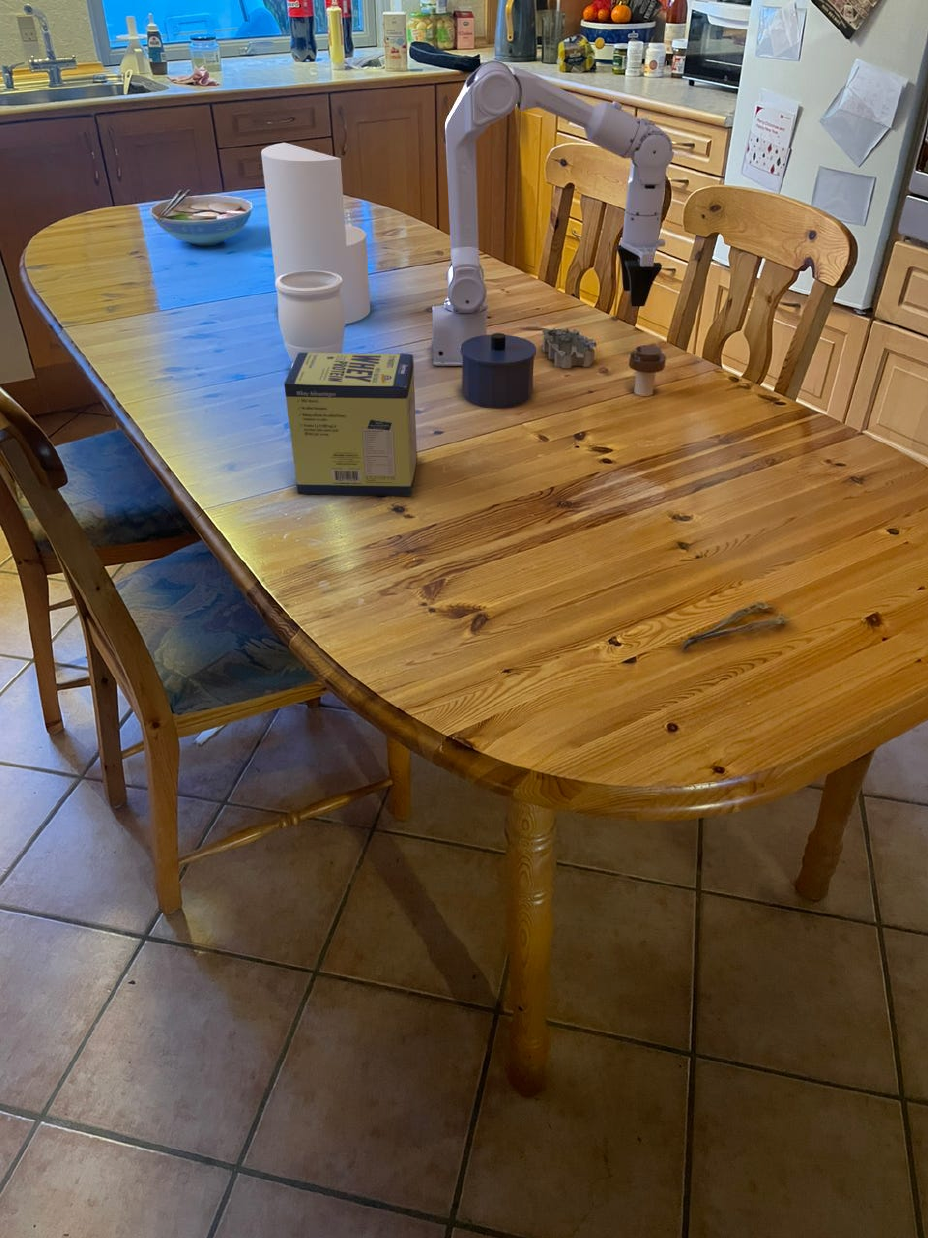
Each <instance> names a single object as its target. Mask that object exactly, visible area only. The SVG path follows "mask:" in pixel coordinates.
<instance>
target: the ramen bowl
mask: <svg viewBox="0 0 928 1238" xmlns="http://www.w3.org/2000/svg"><path fill="white" fill-rule="evenodd" d="M190 193H191V191H190V189H187V190H185V191H184V192H183V190H182V189H179V190H178V191H177V192H176V194H175V195H174V197H173V198H172V199H168V200H165V201H164V200H163V201H161V202H159V203H156V204H155V205H153V206H151V207H150V210H149V214H150V215H151V217H152V218H153V220H154V221H155V222H156V224H157V225H158V226H159V227H160V228H161V229H162V230H163V231H164V232H166V233H167V234H168V235H170V236H171V237H173V238H174V239H177V240H180V241H184V242H188V243H189V244H191V245H194V246H204V247H205V246H207V247H208V246H214V245H218V244H221V243H222V242H224V241H225V240H228V239H229V238H231V237H232V238H233V236H235V235H237V234H238V233H239V232H241V230H242V229H244V227H245V226H246V224H247V223H248V221H249V219H250V217H251V213H252V210H253V202H250V201H249V200H247V199H245V198H240V197H235V196H228V195H216V194H215V195H213V194H212V195H209V194H208V195H192V196H188V195H189V194H190Z"/></svg>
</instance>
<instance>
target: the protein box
mask: <svg viewBox="0 0 928 1238" xmlns="http://www.w3.org/2000/svg"><path fill="white" fill-rule="evenodd" d="M292 364H293V363H292ZM414 367H415V366H414V355H413V354H411V353H350V352H349V353H348V352H347V353H345V352H344V353H300V352H299V353H298V355H297V357H296V359H295V362H294V364H293V366H292V368H291V367H290V370H289V373H288V375H287V377H286V379H285V381H284V383H283V385H284V392H285V400H286V401H285V402H286V409H287V410H286V411H287V417H288V427H289V433H290V442H291V451H292V458H293V459H292V460H293V465H294V466H293V467H294V477H295V484H296V493H297V494H298V495H337V496H338V495H339V496H340V495H341V496H384V497H386V496H387V497H410V496H412V494H413V487H414V482H415V476H416V470H417V464H418V448H417V428H416V427H417V423H416V422H417V421H416V395H415V394H416V393H415V370H414V369H415V368H414ZM297 494H296V495H297Z"/></svg>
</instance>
